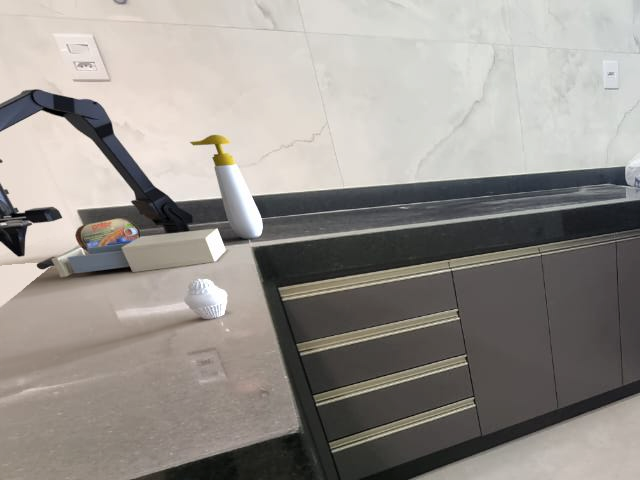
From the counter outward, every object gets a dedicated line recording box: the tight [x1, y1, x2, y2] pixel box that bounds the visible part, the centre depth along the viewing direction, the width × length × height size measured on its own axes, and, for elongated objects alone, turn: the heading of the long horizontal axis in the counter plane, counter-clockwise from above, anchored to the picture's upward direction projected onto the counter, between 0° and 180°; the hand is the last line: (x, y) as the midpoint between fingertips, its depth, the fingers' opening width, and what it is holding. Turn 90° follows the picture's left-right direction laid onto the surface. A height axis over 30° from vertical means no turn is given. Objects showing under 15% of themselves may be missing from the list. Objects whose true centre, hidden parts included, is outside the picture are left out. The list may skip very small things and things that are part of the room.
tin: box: [74, 217, 142, 252], centre depth 151 cm, size 15×3×8 cm, turn 168°
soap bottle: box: [189, 134, 263, 240], centre depth 155 cm, size 13×10×29 cm
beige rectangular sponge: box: [121, 228, 226, 273], centre depth 136 cm, size 17×15×6 cm
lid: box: [107, 238, 136, 245], centre depth 140 cm, size 5×6×6 cm
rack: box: [36, 243, 130, 278], centre depth 130 cm, size 20×13×4 cm
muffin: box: [183, 278, 228, 320], centre depth 94 cm, size 6×6×7 cm
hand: (21, 256), depth 124 cm, fingers closed
